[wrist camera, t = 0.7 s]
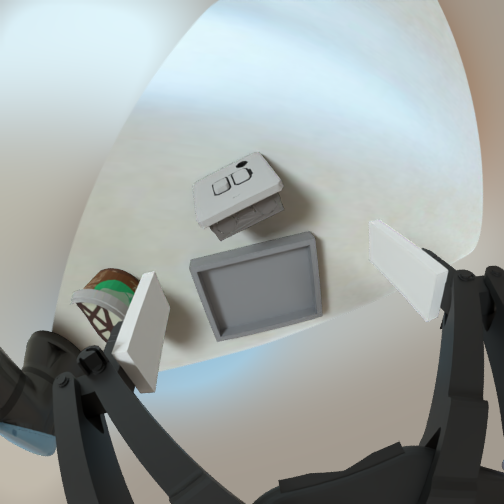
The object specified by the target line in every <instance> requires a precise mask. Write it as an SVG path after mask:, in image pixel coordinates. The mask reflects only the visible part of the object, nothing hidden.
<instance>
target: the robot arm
mask: <svg viewBox="0 0 504 504" xmlns="http://www.w3.org/2000/svg"><path fill="white" fill-rule="evenodd" d="M369 261H370V262H371V263H372V264H373V265H374V266H375V267H376V268H377V269H378V270H379V271H380V272H381V273H382V274H383V275H384V276H385V277H386V278H387V279H388V280H389V282H390V283H391V284H392V285H393V286H394V287H395V288H396V289H397V290H398V291H399V292H400V293H401V294H402V295H403V296H404V298H405V299H406V300H407V301H408V302H409V303H410V304H411V305H412V306H413V307H414V308H415V310H416V311H417V312H418V313H419V314H420V315H421V316H422V318H423V319H424V320H425V321H426V322H429V321H431V320H433V319H435V318H437V317H438V314H439V311H440V307H441V309H442V310H443V311H444V316H443V320H442V323H441V327H440V329H442V340H441V349H440V357H439V365H438V372H437V378H436V384H435V390H434V395H433V400H432V404H431V409H430V413H429V418H428V421H427V425H426V429H425V432H424V435H423V437H422V439H421V441H420V444H419V446H404V447H402V446H401V444H400V442H397V443H395V444H393V445H390V446H388V447H386V448H383V449H381V450H379V451H377V452H374V453H372V454H370V455H369V456H367V457H366V458H364V459H363V460H361V461H360V462H358V463H356V464H355V465H353V466H351V467H350V468H348V469H346V470H344V471H339V472H326V473H310V474H306V475H301V476H298V477H293V478H288V479H283V480H279V486H278V487H275V488H273V489H271V490H270V491H268V492H266V493H265V494H263V495H262V496H261V497H259V498H258V499H257V500H256V501H255V502H254V503H253V504H504V473H503V472H499V471H496V470H492V469H489V468H485V467H482V466H480V464H481V459H482V454H483V449H484V443H485V436H486V429H487V419H488V408H489V407H488V401H485V400H483V387H484V386H483V385H484V344H485V348H486V351H487V354H488V358H489V361H490V365H491V369H492V373H493V378H494V382H495V387H496V391H497V396H498V402H499V407H500V414H501V421H502V429H503V435H504V270H503V269H501V268H500V267H497V266H489V267H487V268H486V271H485V275H484V276H475V275H474V274H473V273H472V272H470V271H468V270H457V271H456V270H455V269H454V268H453V267H451V266H450V265H449V264H447V263H446V262H445V261H444V260H442V259H441V258H440V257H437V255H436V254H434V253H433V252H432V251H430V250H427V249H424V248H421V249H420V248H419V247H418V246H416V245H415V244H414V243H412V242H411V241H410V240H408V239H407V238H405V237H404V236H403V235H401V234H400V233H398V232H397V231H396V230H394V229H393V228H391V227H390V226H388V225H387V224H385V223H384V222H383V221H381V220H380V219H378V220H373V221H369ZM169 312H170V306H169V304H168V302H167V299H166V297H165V295H164V292H163V290H162V288H161V285H160V283H159V280H158V278H157V275H156V273H155V271H153V272H148V273H144V274H143V275H142V278H141V280H140V282H139V285H138V287H137V289H136V292H135V294H134V296H133V299H132V301H131V304H130V306H129V309H128V311H127V314H126V316H125V319H124V321H118V323H117V324H116V325H115V326H114V327H113V329H112V331H111V334H110V337H109V338H108V342H107V344H106V346H105V349H104V351H102V350H101V348H100V347H99V346H95V345H94V346H89V347H87V348H85V349H84V350H83V351H82V352H80V351H79V350H78V349H77V348H76V347H75V346H74V345H73V344H72V343H70V342H69V341H68V340H66V339H65V338H63V337H61V336H59V335H57V334H55V333H52V332H49V331H37V332H35V333H33V334H32V336H31V337H30V339H29V341H28V343H27V347H26V353H25V358H24V365H23V368H22V370H20V369H19V368H18V366H17V365H16V364H15V363H14V362H13V361H12V360H11V359H10V358H9V356H8V355H7V354H6V353H5V352H4V351H3V349H2V348H1V347H0V435H1V436H3V437H4V438H5V439H7V440H8V441H10V442H12V443H14V444H15V445H17V446H19V447H21V448H23V449H25V450H27V451H29V452H32V453H35V454H38V455H41V456H51V455H53V454H54V452H55V450H56V447H57V454H58V460H59V466H60V472H61V477H62V482H63V487H64V491H65V495H66V499H67V503H68V504H134V502H133V500H132V498H131V495H130V493H129V490H128V488H127V485H126V483H125V480H124V477H123V475H122V472H121V469H120V466H119V463H118V460H117V458H116V455H115V451H114V448H113V445H112V441H111V438H110V435H109V431H108V427H107V424H106V420H105V416H104V413H108V415H109V417H110V418H111V420H112V422H113V423H114V425H115V426H116V428H117V429H118V431H119V432H120V434H121V435H122V437H123V438H124V440H125V441H126V443H127V444H128V446H129V447H130V449H131V450H132V451H133V453H134V454H135V455H136V457H137V458H138V459H139V461H140V462H141V464H142V465H143V466H144V467H145V469H146V470H147V471H148V472H149V474H150V475H151V476H152V477H153V479H154V480H155V481H156V482H157V483H158V485H159V486H160V487H161V488H162V489H163V490H164V491H165V493H166V494H167V495H168V496H169V501H170V503H171V504H245V503H244V502H243V501H241V500H240V499H239V498H237V497H236V496H235V495H233V494H232V493H231V492H229V491H228V490H227V489H226V488H224V487H223V486H222V485H221V484H220V483H219V482H217V481H216V480H215V479H214V478H213V477H211V475H209V474H208V473H207V472H206V471H205V470H204V469H203V468H202V467H201V466H199V465H198V464H197V463H196V462H195V461H194V460H193V459H192V458H191V457H190V456H189V455H188V454H187V453H186V452H185V451H184V450H183V449H182V448H181V447H180V446H179V445H178V444H177V443H176V442H175V441H174V440H173V439H172V437H171V436H170V435H169V434H168V433H167V432H166V431H165V430H164V429H163V428H162V427H161V425H160V424H159V423H158V422H157V421H156V420H155V419H154V417H153V416H152V415H151V414H150V413H149V411H148V410H147V409H146V408H145V407H144V405H143V404H142V403H141V402H140V401H139V399H138V398H137V397H136V395H135V394H134V388H135V387H136V388H137V389H138V390H139V392H140V393H152V392H155V389H156V383H157V376H158V370H159V364H160V359H161V353H162V347H163V342H164V337H165V332H166V326H167V321H168V317H169ZM483 341H484V342H483ZM502 468H503V470H504V460H503V462H502Z"/></svg>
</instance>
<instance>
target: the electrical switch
mask: <svg viewBox="0 0 504 504" xmlns="http://www.w3.org/2000/svg"><path fill="white" fill-rule="evenodd" d="M283 187H284V185H283V183H282V181H281V179H280V178H279V177H278V175H277V174H276V173H275V171H274V170H273V169H272V168H271V166H270V165H269V164H268V162H267V161H266V160H265V159H264V157H263V156H262V155H261V154H260V152H254V153H252V154H250V155H248V156H246V157H244V158H242V159H240V160H238V161H236V162H234V163H232V164H230V165H228V166H226V167H224V168H222V169H220V170H218V171H216V172H214V173H212V174H210V175H208V176H207V177H205V178H203V179H201V180H199V181H197V182H196V183H194V185H193V186H192V188H193V196H194V204H195V211H196V219H197V222H198V224H199V226H200V227H201V228H203V229H205V228H207V227H210V229H211V230H212V231H213V232H214V233H215V234H216V236H217V237H218V239H219V240H220V241H222V240H224V239H226V238H228V237H230V236H232V235H234V234H236V233H238V232H240V231H242V230H244V229H246V228H248V227H250V226H252V225H254V224H256V223H258V222H260V221H262V220H264V219H266V218H268V217H270V216H272V215H274V214H276V213H278V212H280V211H283V210H284V207H283V205H282V203H281V200H280V196H279V194H278V192H279V191H281V190H282V188H283ZM270 196H272V197H270ZM250 206H251V207H250ZM253 208H254V209H255V211H256V212H255V211H253ZM273 210H274V211H273ZM272 211H273V212H272ZM228 216H230V217H228ZM232 217H233V218H232ZM238 218H239V219H238ZM236 221H237V222H236ZM221 232H222V233H221Z"/></svg>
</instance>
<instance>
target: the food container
mask: <svg viewBox="0 0 504 504" xmlns="http://www.w3.org/2000/svg"><path fill="white" fill-rule="evenodd" d="M138 285H139V281H138V280H137V279H136V278H135V277H134V276H132V275H131V274H129V273H127V272H125V271H123V270H120V269H114V268H108V269H104V270H101V271H100V272H99V273H98V274H97V275H96V276H95V277H94V278H93V279H92V280H91V281H90V282H89V283H88V284H87V285H86V286H85V287H84V288H83V289H81V290H77V291H74V293H73V295H72V298H71V300H72V302H71V303H70V304H74V303H76V304H77V306H78V307H79V308H80V309H81V310H82V312H83V313H84V314H85V316H86V317H87V318H88V320H89V322H90V323H91V325H92V326H93V328H94V329H95V331H96V332H97V334H98V335H99V336H100V337H101V338H102V339H103V340H104V341H105V342H106V343H107V342H108V338H109V337H110V334H111V331H112V329H113V327H114V326H115V325H116V324H117V323H118V321H124V319H125V316H126V314H127V311H128V309H129V306H130V304H131V301H132V299H133V296H134V294H135V292H136V289H137V287H138Z"/></svg>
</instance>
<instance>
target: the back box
mask: <svg viewBox="0 0 504 504" xmlns="http://www.w3.org/2000/svg"><path fill="white" fill-rule="evenodd" d="M189 269H190V272H191V275H192V278H193V280H194V283H195V286H196V289H197V291H198V294H199V297H200V299H201V302H202V305H203V307H204V310H205V312H206V315H207V318H208V320H209V323H210V325H211V328H212V330H213V333H214V335H215V338H216V340H217V342H219V341H224V340H228V339H233V338H238V337H242V336H247V335H251V334H255V333H260V332H264V331H268V330H272V329H276V328H280V327H284V326H288V325H292V324H296V323H299V322H303V321H307V320H310V319H314V318H317V317H321V316H322V303H321V291H320V280H319V269H318V260H317V251H316V242H315V237H314V236H313V235H312V234H311V233H310V231H308V232H304V233H300V234H296V235H292V236H287V237H283V238H279V239H275V240H271V241H266V242H262V243H258V244H254V245H250V246H246V247H241V248H237V249H233V250H229V251H225V252H221V253H217V254H213V255H208V256H204V257H200V258H196V259H192V260H191V261H190V266H189Z"/></svg>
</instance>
